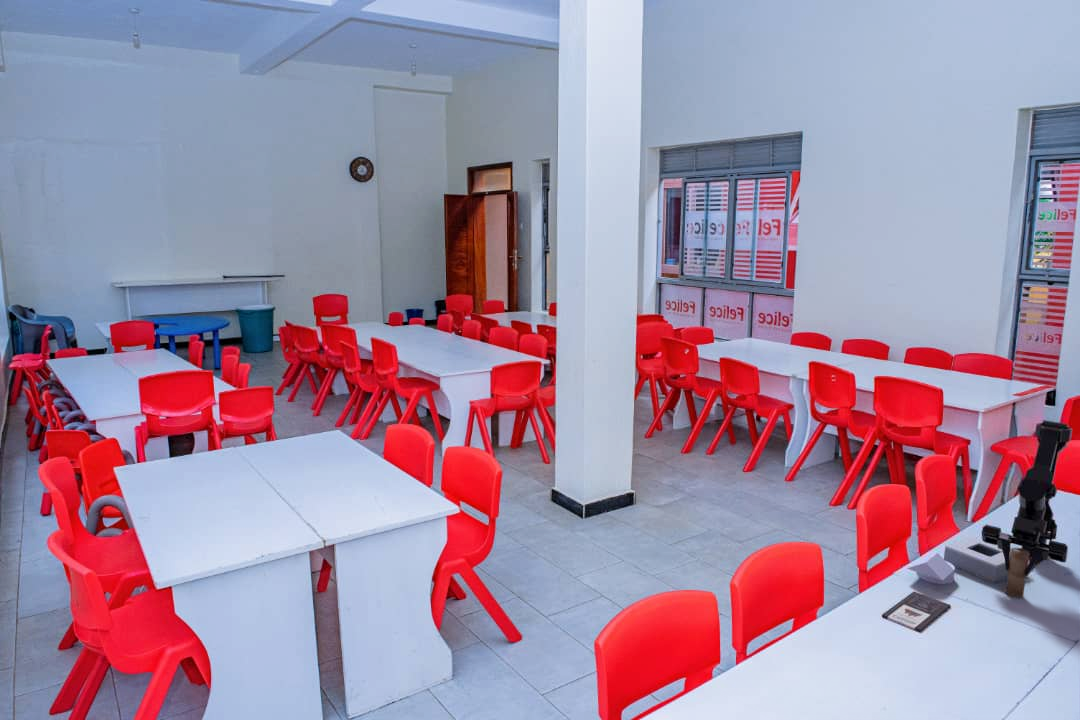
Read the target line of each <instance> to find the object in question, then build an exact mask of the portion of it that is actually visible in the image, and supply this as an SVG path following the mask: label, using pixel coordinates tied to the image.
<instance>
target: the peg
mask: <svg viewBox="0 0 1080 720" xmlns="http://www.w3.org/2000/svg"><path fill="white" fill-rule="evenodd" d="M1021 548H1022V547H1012V548H1011V554H1010V561H1009V568H1008V574H1007V578H1006V582H1005V587H1004V594H1005V595H1006V596H1008V597H1010V598H1013V599H1023V598H1024V591H1025V586H1026V585H1025V584H1026V578H1027V576H1026V570H1027V567H1028V564H1029V562H1030V560H1029V558H1030V557H1029V554H1030V553H1029V551H1027V550H1025V549H1021Z"/></svg>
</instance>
